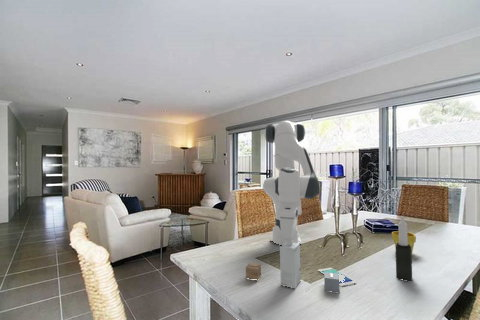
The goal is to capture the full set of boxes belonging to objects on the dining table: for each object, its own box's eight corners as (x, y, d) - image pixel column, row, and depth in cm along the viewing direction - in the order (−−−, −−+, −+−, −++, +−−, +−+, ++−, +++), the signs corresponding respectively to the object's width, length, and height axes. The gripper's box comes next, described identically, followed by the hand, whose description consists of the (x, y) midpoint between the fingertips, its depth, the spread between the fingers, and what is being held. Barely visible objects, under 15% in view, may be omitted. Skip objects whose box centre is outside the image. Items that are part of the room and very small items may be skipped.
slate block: (324, 285, 93) (324, 271, 93) (338, 287, 91) (338, 273, 91) (324, 291, 88) (324, 277, 88) (339, 293, 87) (339, 279, 87)
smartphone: (331, 267, 108) (357, 282, 94) (331, 269, 108) (357, 284, 93) (317, 269, 105) (341, 285, 91) (317, 271, 105) (341, 288, 91)
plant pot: (393, 254, 124) (392, 235, 124) (391, 248, 133) (390, 230, 133) (418, 257, 119) (417, 237, 119) (414, 251, 128) (413, 232, 129)
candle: (397, 274, 101) (396, 214, 102) (412, 277, 98) (410, 215, 99) (395, 278, 97) (394, 216, 98) (411, 282, 94) (409, 217, 95)
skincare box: (295, 289, 89) (294, 249, 90) (279, 285, 92) (279, 246, 93) (301, 280, 97) (300, 242, 97) (286, 277, 100) (286, 240, 100)
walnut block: (249, 274, 102) (249, 262, 103) (261, 276, 101) (260, 263, 101) (246, 279, 98) (245, 266, 98) (258, 281, 96) (257, 268, 96)
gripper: (285, 204, 106) (285, 236, 106) (277, 213, 87) (277, 252, 86) (300, 205, 104) (300, 237, 104) (295, 214, 85) (295, 254, 84)
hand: (290, 244), depth 95 cm, fingers closed
